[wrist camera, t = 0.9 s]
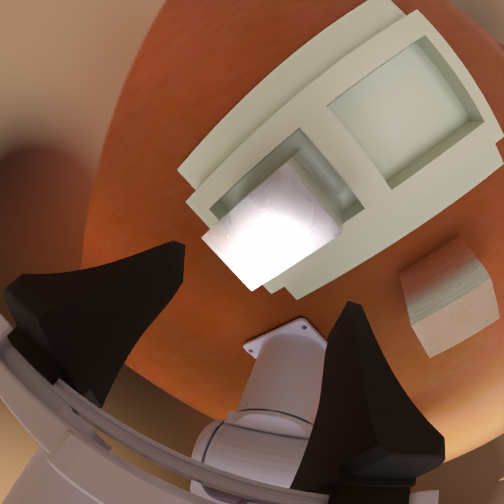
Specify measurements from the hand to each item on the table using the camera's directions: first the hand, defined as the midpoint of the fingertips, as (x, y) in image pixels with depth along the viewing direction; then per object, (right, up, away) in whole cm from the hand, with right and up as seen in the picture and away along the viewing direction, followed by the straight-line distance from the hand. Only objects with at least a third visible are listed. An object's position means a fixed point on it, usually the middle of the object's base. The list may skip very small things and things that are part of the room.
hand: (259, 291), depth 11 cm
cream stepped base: (+6, +8, +5) cm, 11 cm away
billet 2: (+15, 0, +7) cm, 16 cm away
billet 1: (+2, +5, +7) cm, 9 cm away
